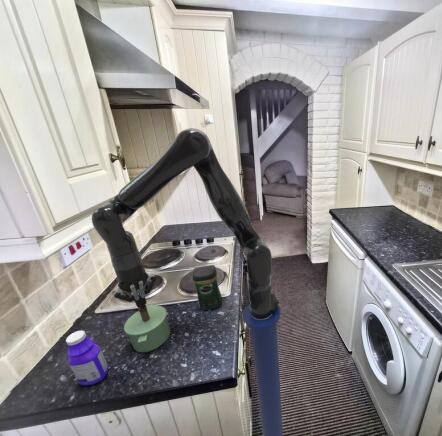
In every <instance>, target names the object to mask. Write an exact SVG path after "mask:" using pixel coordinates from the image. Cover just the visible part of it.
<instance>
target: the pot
mask: <svg viewBox="0 0 442 436" xmlns="http://www.w3.org/2000/svg"><path fill="white" fill-rule="evenodd" d="M151 306H156V304H151V305H148V306H147V307H151ZM127 335H128V337H129V340H130V343H131V345H132V348H133V350H135V351H136V352H137V353H148V352H151V351H154V350H156V349H157V348H159V347H161V346H162V345H164V344H165V342H167V340H168V339H169V337H170V335H171V326H170V323H169V319H168V316H166V318H165V320H164V321H163V323H162V324H161V325H159V326H158V327H157V328H155V329H154V330H152V331H150V332H148V333H146V334H142V335H137V336H133V335H129V334H127Z"/></svg>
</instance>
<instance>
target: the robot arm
mask: <svg viewBox="0 0 442 436" xmlns="http://www.w3.org/2000/svg"><path fill="white" fill-rule="evenodd" d="M191 168H194V170H195V171H196V172H197V174H198V175H199V177H200V179H201V182H202V184H203V186H204V189H205V192H206V194H207V196H208V200H209V202H210V203H211V206H212V207H213V209H214V211H215V213H216V214H217V215H218V217H219V218H220V220H221V221H222V222H223V224H224V225H225V226H226V227H227V228H228V230H229V231H230V232H231V233H232V234H233V235H234V236H235V238H236V240H237V242H238V244H239V246H240V248H241V251H242V254H243V256H244V258H245V260H246V265H247V273H246V279H247V280H246V281H247V289H248V299H249V304H250V309H251V316H252V318H253V319H255V320H258V321H263V320H267V319H269V318H270V317H271V316H272V315H274V314H275V311H274V308H277V307H278V305H279V303H280V302H279V299H277V297H276V295H275V293H273V290H272V273H273V256H272V251H271V249H270V248H269V246H268V245H267V244H266V242H265V241H264V240H263V238H262V237H261V236H260V235H259V233H258V232H257V230H256V229H255V228H254V226H253V224H252V222H251V221H252V220H251V218H250V214H249V212H248V209H247V207H246V204H245V203H244V201H243V200H242V196H241V195H240V194H239V192H238V190H237V189H236V187H235V185H234V184H233V182H232V181H231V180H230V178H229V176H228V175H227V173H226V172H225V171H224V169H223V168H222V166H221V164H220V161H219V159H218V157H217V155H216V152H215V150H214V148H213V146H212V143H211V140H210V138H209V137H208V135H207V134H206V133H205V132H204V131H203V130H201V129H198V128H195V127H189V128H185V129H183V130H182V131H180V132H179V133H178V134H176V137H175V139H174V140H173V141H172V143H171V144H170V146H169V147H168V148H167V149H166V151H164V153H163V154H162V155H161V156H160V157H159V158H158V159H157V160H156V161H154V163H152V164H150V165H149V166H148V167H147V168H146V169H144V170H142V171H141V172H139V174H138V175H136V176H135V177H133V178H132V179H131V180H130V181H129V182H127V183H126V184H125V185H124V186H123V187H122V188H121V189H119V191H118V193H117V194H116V195H115V196H114V197H113V198H111V199H110V200H109V201H107V202H106V203H104V204H102V205H100V206H99V207H97V208H96V209H94V211H92V214H91V223H92V226H93V228H94V230H95V232H96V233H97V234H98V235H99V237H100V238H101V239H102V241H104V243H105V245H106V248H107V251H108V254H109V256H110V261H111V267H112V268H113V270H114V272H115V275H116V278H117V281H118V284H117V287H118V288H117V289H116V290H113V291H112V292H111V294H112V296H113V297H114V298H115V299H118V300H122V301H125V302H128V303H132V302H134V303H135V306H136V307H137V309H138V308H139V307H140V308H143V307H145V305H147V303H148V302H147V299H146V295H148V294H150V293H151V292H152V289H153V287H154V285H155V283H156V282H157V277H156V276H155V275H154V274H148V272H146V268H145V265H144V261H143V259H142V256H141V253H140V251H139V249H138V246H137V243H136V242H137V241H136V239H135V236H134V235H133V233H132V232H131V231H129V230H128V231H127V230H126V229H125V228H124V223H125V222H126V221H127V220H129V219H130V218H131V217H132V216H133V215H134V214H135V213H136V212H137V211H138V210H139V209H141V208H142V207H144V206H145V205H146V204H148V203H149V202H150V201H151V200H152V199H153V198H155V197H156V196H157V195H158V194H159V193H160V192H161V191H162V190H163V189H164V188H166V186H168V185H169V184H170V183H171V182H173V180H174V179H176V178H178V176H180V175H182V174H183V173H185V172H186V171H188V170H189V169H191ZM123 291H124V292H126V293H130V294H131V295H130V294H126V293H124V292H123Z"/></svg>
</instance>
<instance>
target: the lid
mask: <svg viewBox="0 0 442 436" xmlns="http://www.w3.org/2000/svg"><path fill="white" fill-rule="evenodd" d="M150 306H151V305H150ZM137 309H138V311H136V312H134V313H133V314H132V315H131V316H129V318H128V319H127V320H126V321H125V323H124V326H123V329H124V332H125V334H127V335H128V334H129V335H133V336H137V335H142V334H146V333H148V332H150V331H152V330H154V329H155V328H157V327H158V326H159V325H161V324H162V323H163V321H164V320H165V318H166V316H167V315H168V312H167V309H166V307H164V306H161V305H155V306H151V307H148V306H147V304H145V307H143V308H140V307H139V308H138V307H137ZM167 317H168V316H167ZM129 335H128V336H129Z"/></svg>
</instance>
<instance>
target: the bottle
mask: <svg viewBox="0 0 442 436" xmlns="http://www.w3.org/2000/svg"><path fill="white" fill-rule="evenodd" d="M65 342H66V345H67V347H68V349H67V356H69V357H68V360H67V362H68V365H69V367H70V369H71V371H72V373H73V375H74V376H75V378H76V381H77V382H78V384H79V385H82V386H91V385H95V384H98V383H99V382H102V381H103V380H104V379H105V377H106V376H107V374H108V372H109V365H108V362H107V361H106V358H105V356H104V353H103V351H102V349H101V347H100V345H98V344H97V343H94V339H92V338H91V337H88V335H87V334H86V331H85V330H77V331H74V332H73V333H70V334H69V335H68V336H67V337H66V339H65Z"/></svg>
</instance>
